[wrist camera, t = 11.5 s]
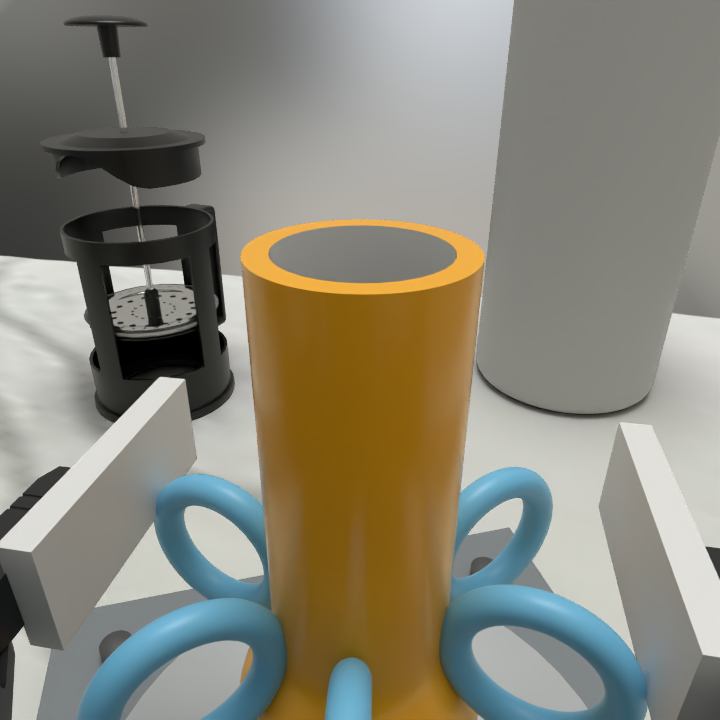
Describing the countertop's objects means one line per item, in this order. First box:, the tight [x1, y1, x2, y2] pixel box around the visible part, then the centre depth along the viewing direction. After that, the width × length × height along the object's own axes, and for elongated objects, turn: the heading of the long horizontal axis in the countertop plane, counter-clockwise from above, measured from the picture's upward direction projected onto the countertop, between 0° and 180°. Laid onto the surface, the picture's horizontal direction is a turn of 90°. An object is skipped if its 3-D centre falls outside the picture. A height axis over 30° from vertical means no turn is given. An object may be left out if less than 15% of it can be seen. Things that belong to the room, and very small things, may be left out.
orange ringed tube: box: [76, 219, 648, 720], centre depth 14 cm, size 12×10×15 cm
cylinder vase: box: [476, 0, 720, 414], centre depth 39 cm, size 12×12×25 cm
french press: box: [40, 15, 235, 422], centre depth 38 cm, size 12×9×23 cm
